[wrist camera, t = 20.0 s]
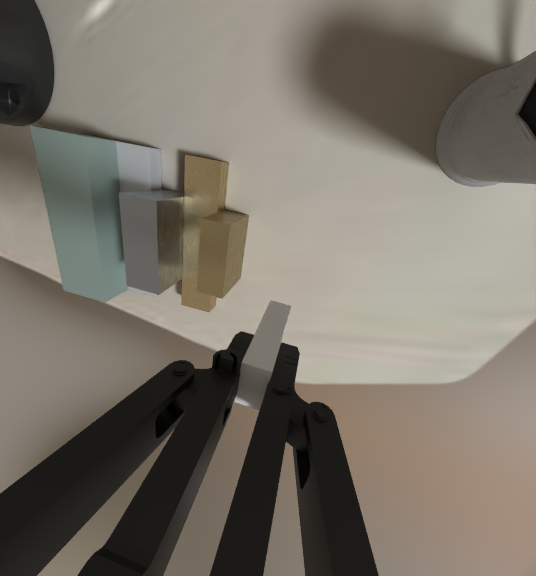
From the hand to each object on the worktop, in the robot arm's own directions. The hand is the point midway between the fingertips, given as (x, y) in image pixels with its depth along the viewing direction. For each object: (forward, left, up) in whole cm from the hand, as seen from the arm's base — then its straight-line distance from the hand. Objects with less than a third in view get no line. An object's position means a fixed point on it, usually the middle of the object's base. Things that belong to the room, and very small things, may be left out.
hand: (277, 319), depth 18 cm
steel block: (-16, 0, -14) cm, 21 cm away
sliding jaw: (-10, 0, -13) cm, 17 cm away
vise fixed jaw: (-23, 0, -13) cm, 27 cm away
